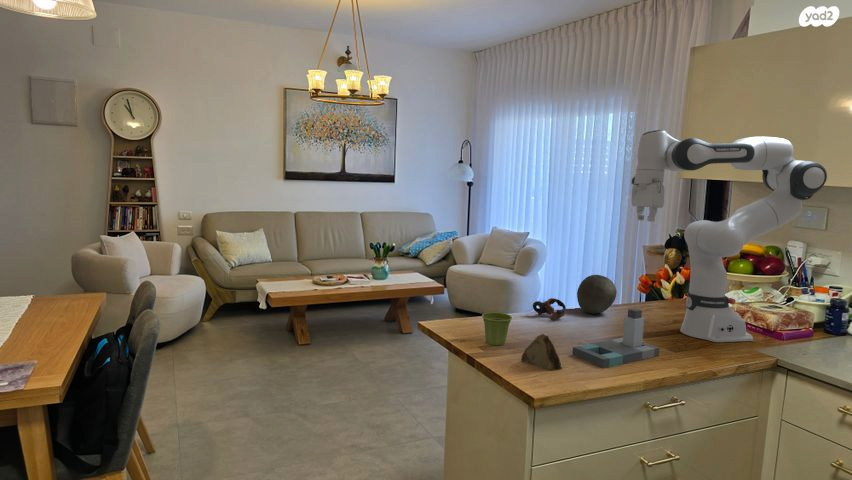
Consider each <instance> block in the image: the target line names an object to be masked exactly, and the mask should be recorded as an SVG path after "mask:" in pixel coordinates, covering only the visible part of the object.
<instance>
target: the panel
mask: <svg viewBox="0 0 852 480" xmlns="http://www.w3.org/2000/svg"><path fill="white" fill-rule="evenodd" d="M622 343H623V337H619V338H614V339H608V340H601V341H598V342H593V343H587V344H582V345H577V346H572V356H573V357H576V358H578V359H580V360H582V361H585V362H588V363H590V364H593V365H594V366H595V365H596V366H597V367H600V368H603V369H607V368H609V367H615V366H619V365H623V364H627V363H632V362H637V361H641V360H645V359H650V358H654V357H660V356H659V355H660V347H659V346H655V345H652V344H649V343H647V342H643V341H642V346H641V347H636V348H632V347H629V346H626V345H623V344H622Z"/></svg>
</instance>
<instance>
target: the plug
mask: <svg viewBox="0 0 852 480" xmlns="http://www.w3.org/2000/svg"><path fill="white" fill-rule="evenodd" d="M642 313H643V309H639V308H635V307H634V308H628V309H627V316H626V315H625V316H624V318H623V319H624V320H623V321H624V322H623V330H622V331H623V334H622V338H623V343H622V344H623V345H626V346H629V347H632V348H636V347H641V346H642V342H643V338H644V325H645V318H644V317H642V315H643V314H642Z"/></svg>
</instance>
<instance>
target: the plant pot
mask: <svg viewBox="0 0 852 480" xmlns="http://www.w3.org/2000/svg"><path fill="white" fill-rule="evenodd" d="M481 317H482V319H483V323H484V334H485V335H484V337H485V342H486V344H488V345H491V346H498V345H500V346H503V345H505V344H506V341H507V335H508V330H509V326H510V323H511V321H512V318H513V317H512V316H511V315H510V314H507V313H503V312H500V311H499V312H494V311H491V312H485V313H482V315H481Z"/></svg>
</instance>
